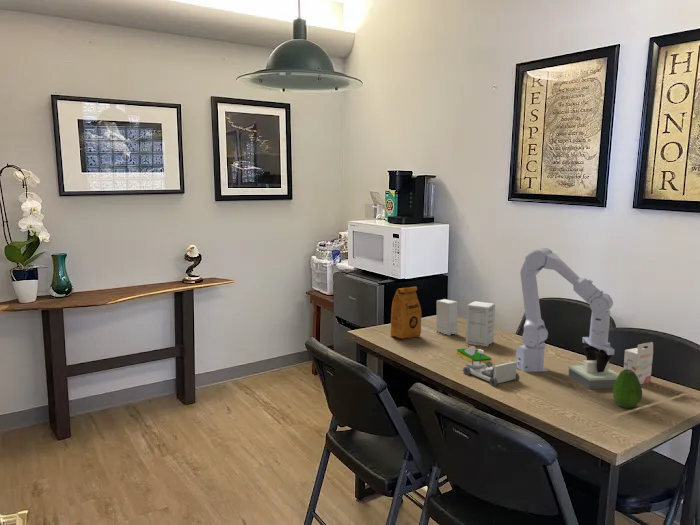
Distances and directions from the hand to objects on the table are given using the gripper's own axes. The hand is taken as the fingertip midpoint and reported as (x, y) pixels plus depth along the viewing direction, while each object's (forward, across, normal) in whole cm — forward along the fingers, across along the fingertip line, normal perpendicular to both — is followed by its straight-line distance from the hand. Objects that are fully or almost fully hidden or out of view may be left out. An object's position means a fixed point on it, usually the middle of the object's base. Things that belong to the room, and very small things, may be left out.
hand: (595, 369), depth 183 cm
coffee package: (+5, +62, +49) cm, 79 cm away
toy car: (+6, +11, +34) cm, 36 cm away
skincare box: (+5, +66, +29) cm, 72 cm away
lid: (+2, 0, 0) cm, 2 cm away
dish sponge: (+6, +30, +31) cm, 44 cm away
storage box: (+5, 0, 0) cm, 5 cm away
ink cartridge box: (+5, -1, -15) cm, 16 cm away
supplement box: (+5, +50, +20) cm, 54 cm away
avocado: (+5, -20, +3) cm, 21 cm away
